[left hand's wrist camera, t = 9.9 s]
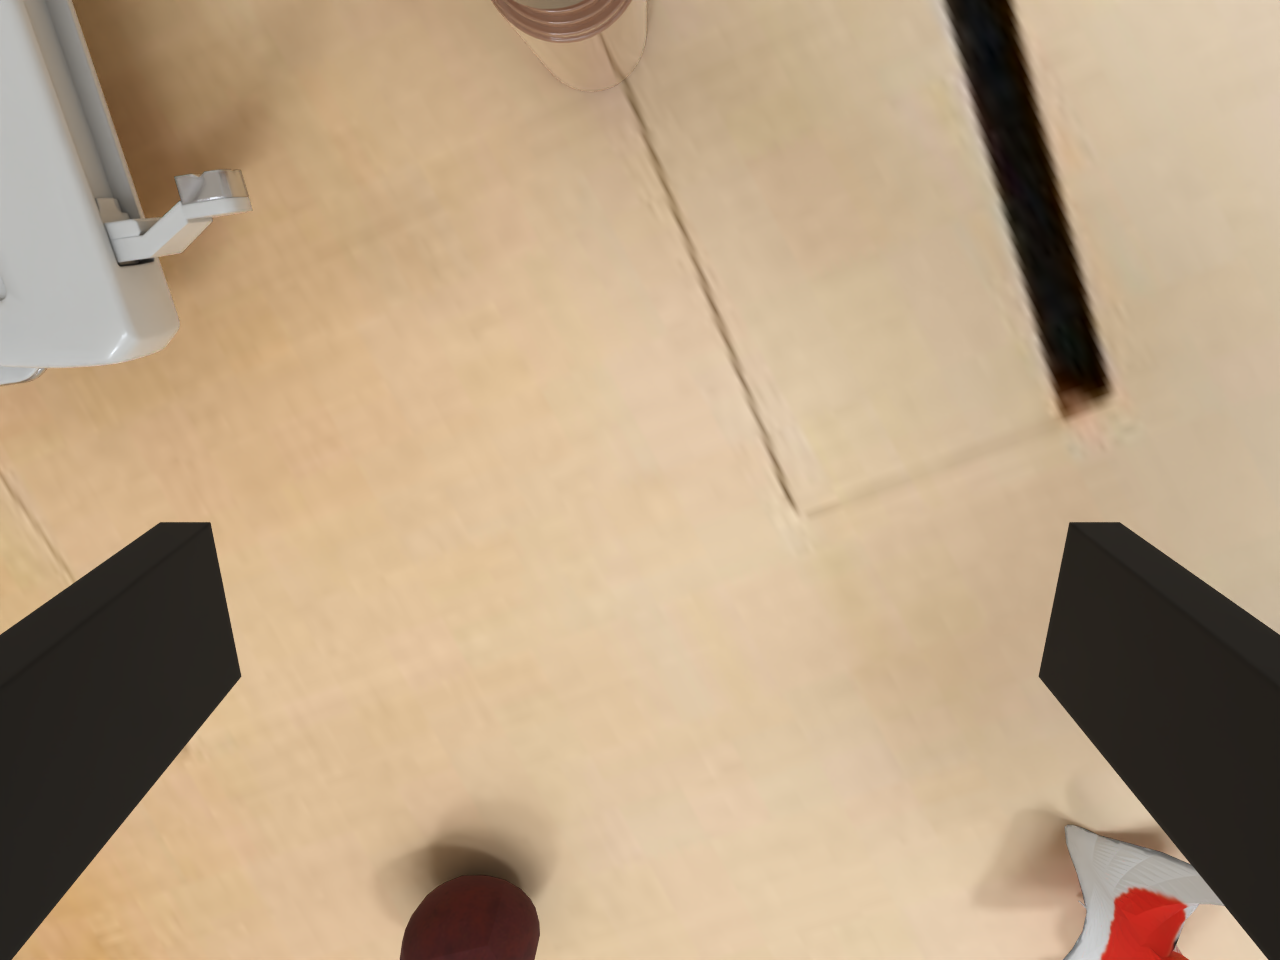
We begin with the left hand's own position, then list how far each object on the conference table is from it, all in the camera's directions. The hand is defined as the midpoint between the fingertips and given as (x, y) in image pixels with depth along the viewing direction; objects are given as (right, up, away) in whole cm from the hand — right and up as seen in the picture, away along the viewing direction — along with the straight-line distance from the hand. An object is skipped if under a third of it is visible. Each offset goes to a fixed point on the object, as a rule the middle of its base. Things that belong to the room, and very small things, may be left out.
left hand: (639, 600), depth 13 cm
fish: (+28, -23, +36) cm, 51 cm away
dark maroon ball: (-9, -23, +37) cm, 44 cm away
